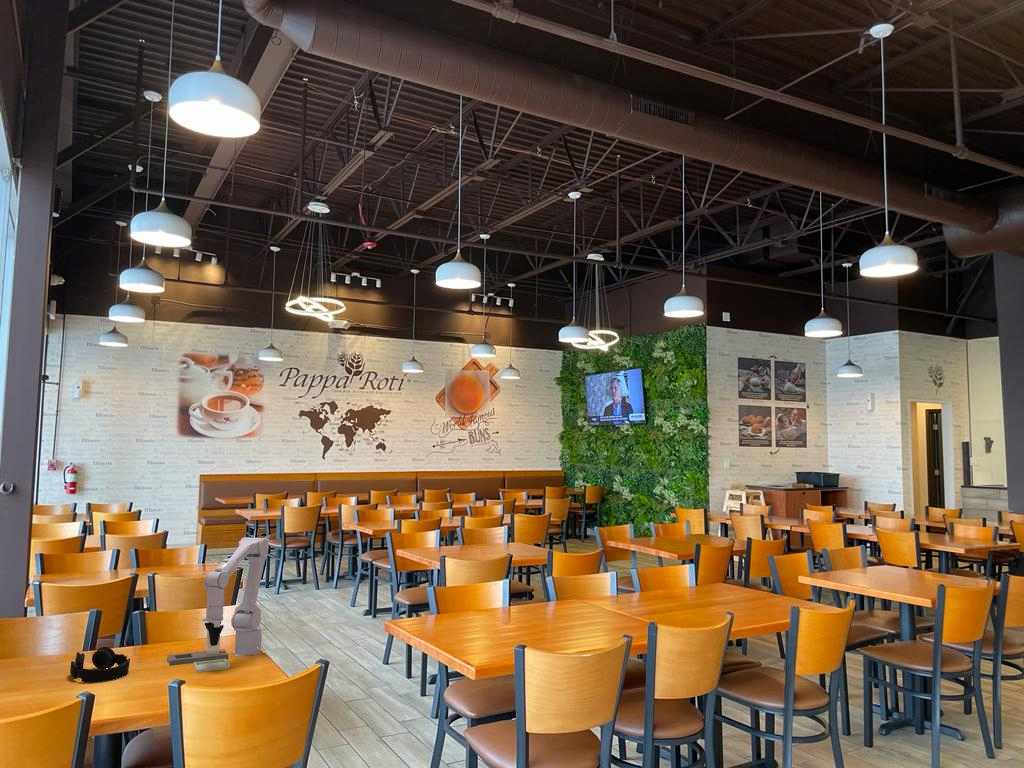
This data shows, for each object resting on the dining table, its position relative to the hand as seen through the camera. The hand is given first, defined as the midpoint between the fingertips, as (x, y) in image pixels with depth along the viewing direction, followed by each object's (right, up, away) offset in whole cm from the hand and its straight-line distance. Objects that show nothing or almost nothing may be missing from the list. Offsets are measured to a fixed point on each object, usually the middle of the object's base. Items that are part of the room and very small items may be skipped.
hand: (213, 644), depth 268 cm
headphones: (-35, -7, -12) cm, 37 cm away
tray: (0, -8, -1) cm, 8 cm away
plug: (0, -2, 0) cm, 2 cm away
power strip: (-9, -9, +9) cm, 16 cm away
